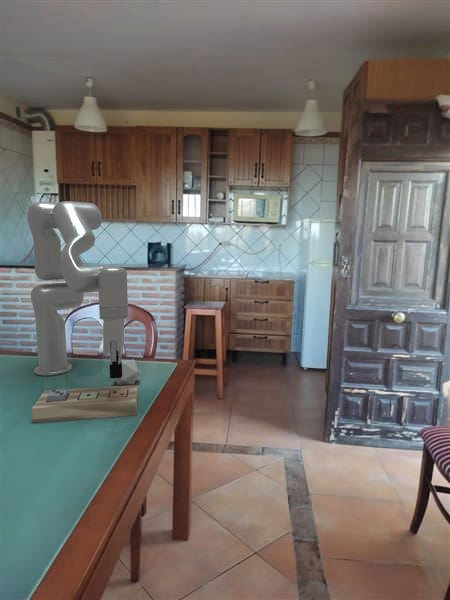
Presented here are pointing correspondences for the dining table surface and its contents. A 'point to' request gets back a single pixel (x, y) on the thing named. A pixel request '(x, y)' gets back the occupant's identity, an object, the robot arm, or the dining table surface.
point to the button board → (86, 405)
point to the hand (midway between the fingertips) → (116, 377)
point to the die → (128, 373)
